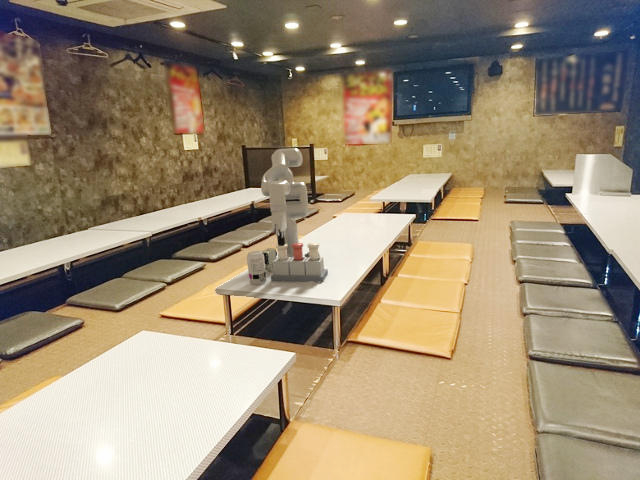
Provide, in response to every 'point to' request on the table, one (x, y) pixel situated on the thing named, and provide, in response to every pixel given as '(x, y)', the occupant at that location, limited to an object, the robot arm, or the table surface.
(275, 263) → the grey compartment rack
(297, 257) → the red rounded knob
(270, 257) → the pneumatic valve
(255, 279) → the supplement can
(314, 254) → the ivory plunger
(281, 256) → the ivory plunger
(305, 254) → the electrical switch
